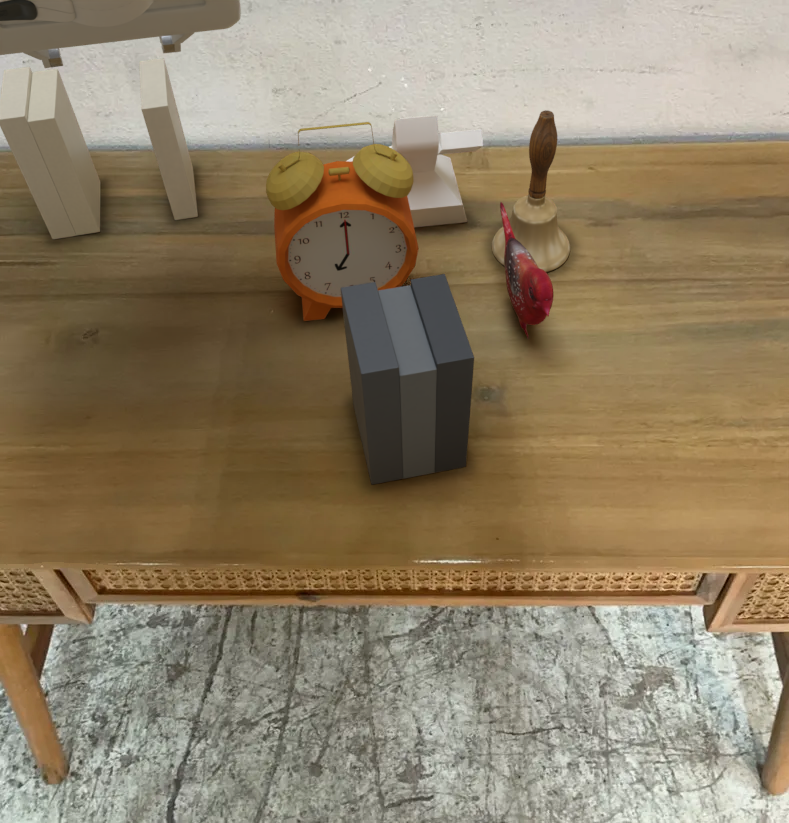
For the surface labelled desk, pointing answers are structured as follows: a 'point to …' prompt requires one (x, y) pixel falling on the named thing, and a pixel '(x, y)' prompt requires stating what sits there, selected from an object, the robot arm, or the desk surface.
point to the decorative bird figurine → (525, 280)
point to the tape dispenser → (433, 168)
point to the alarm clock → (342, 223)
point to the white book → (167, 137)
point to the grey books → (409, 377)
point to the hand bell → (538, 205)
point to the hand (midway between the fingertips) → (112, 51)
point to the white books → (50, 150)
